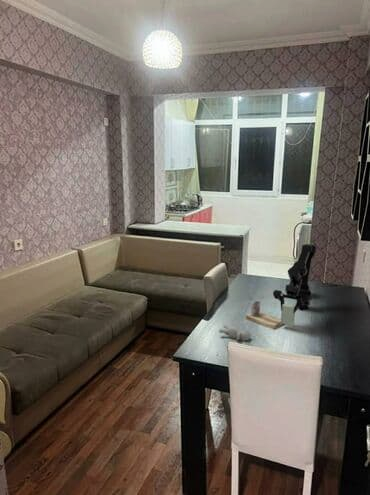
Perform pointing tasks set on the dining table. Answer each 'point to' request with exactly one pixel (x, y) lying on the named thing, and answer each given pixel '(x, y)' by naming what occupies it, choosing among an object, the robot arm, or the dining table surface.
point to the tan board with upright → (262, 317)
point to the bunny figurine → (236, 332)
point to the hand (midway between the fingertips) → (287, 311)
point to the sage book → (287, 314)
